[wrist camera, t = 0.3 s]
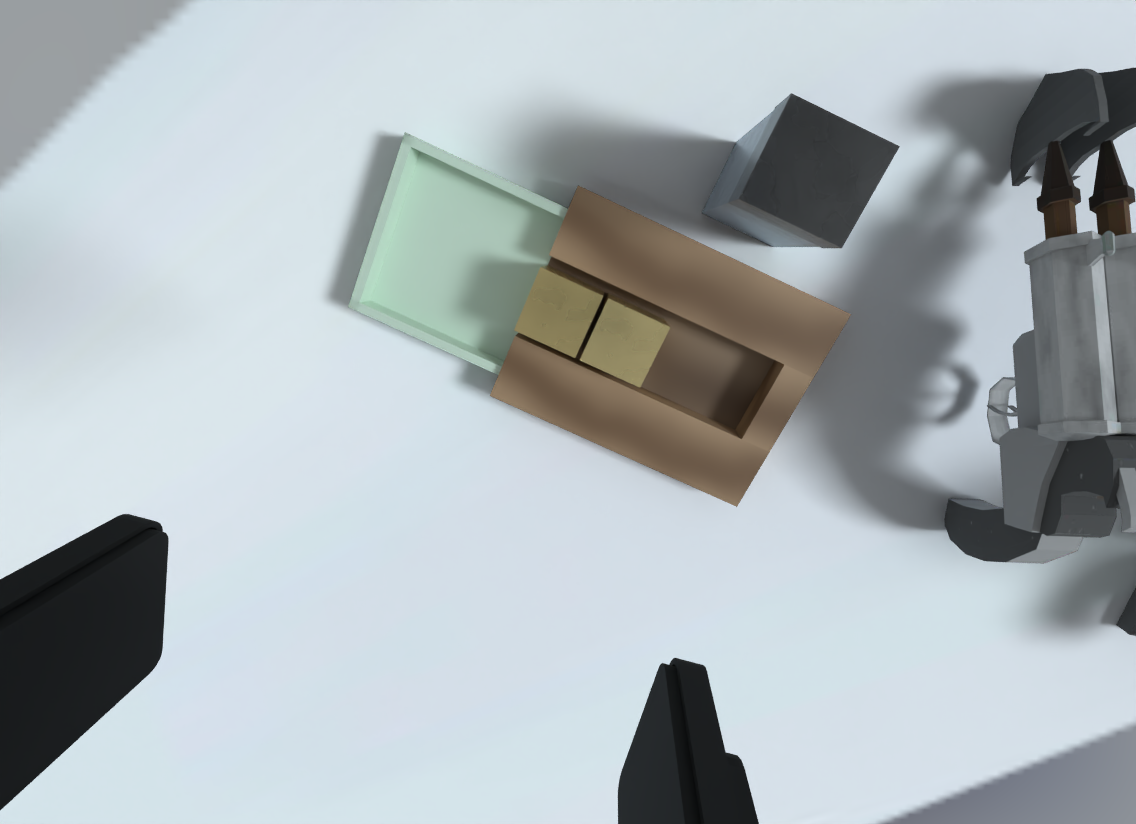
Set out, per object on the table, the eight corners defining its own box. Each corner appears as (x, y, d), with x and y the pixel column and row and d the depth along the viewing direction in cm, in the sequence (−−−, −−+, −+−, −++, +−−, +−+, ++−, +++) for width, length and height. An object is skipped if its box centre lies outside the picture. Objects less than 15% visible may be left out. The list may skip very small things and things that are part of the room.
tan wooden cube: (547, 265, 37) (540, 267, 33) (604, 291, 37) (603, 296, 33) (523, 321, 38) (513, 330, 34) (578, 347, 38) (575, 358, 34)
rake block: (735, 140, 34) (791, 93, 24) (811, 177, 35) (899, 146, 24) (700, 213, 36) (738, 198, 25) (773, 248, 36) (841, 247, 25)
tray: (416, 138, 36) (404, 132, 34) (571, 211, 36) (568, 208, 34) (361, 304, 39) (348, 307, 37) (504, 369, 39) (498, 375, 37)
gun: (924, 552, 40) (1114, 594, 25) (908, 187, 43) (1067, 31, 28) (1004, 554, 39) (1245, 599, 24) (981, 186, 43) (1183, 28, 28)
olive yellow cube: (608, 293, 37) (608, 298, 33) (664, 319, 37) (670, 327, 33) (582, 348, 38) (579, 360, 34) (637, 373, 38) (640, 387, 34)
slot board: (580, 189, 36) (578, 185, 33) (836, 310, 37) (851, 314, 34) (496, 387, 40) (489, 395, 37) (729, 492, 40) (736, 506, 38)
